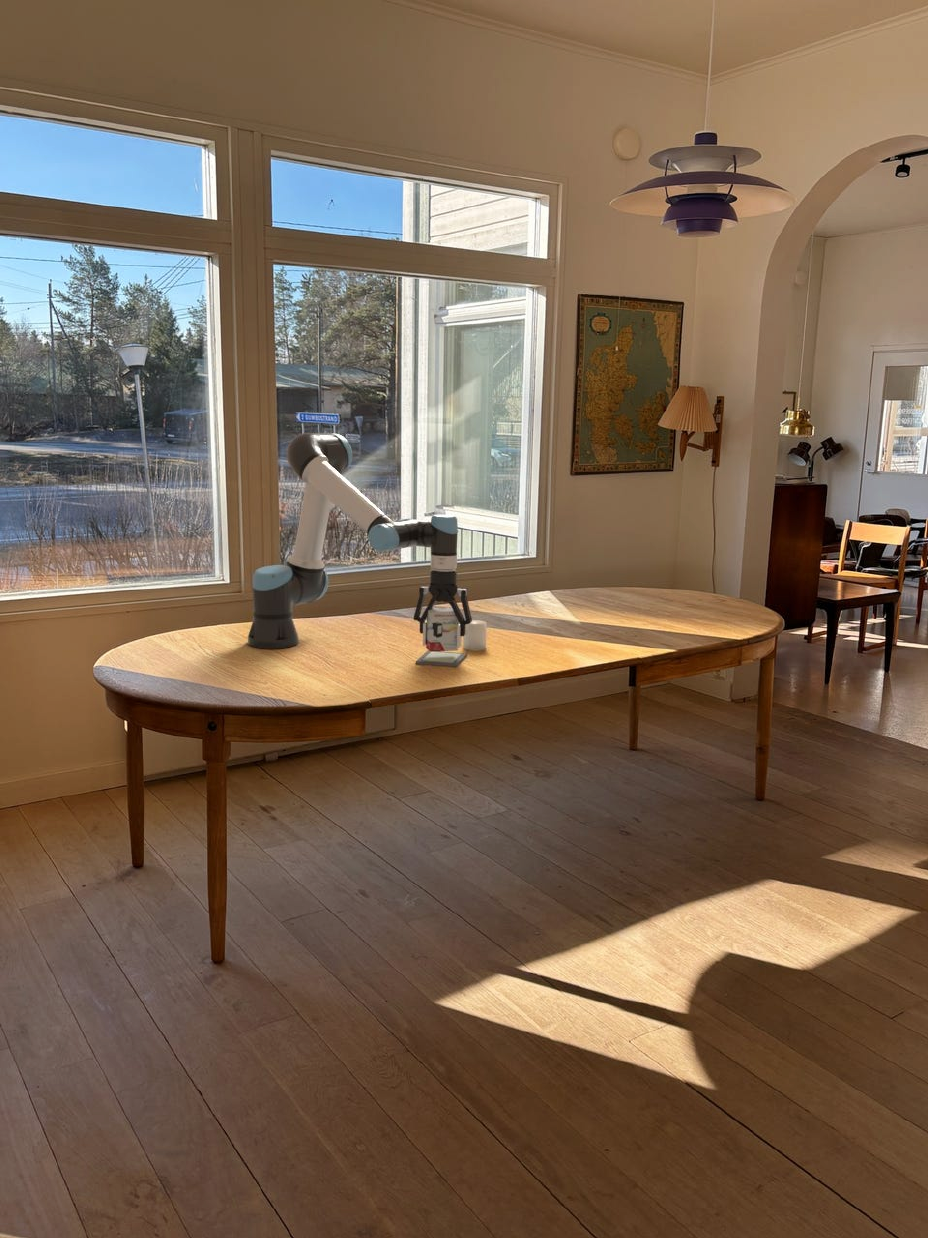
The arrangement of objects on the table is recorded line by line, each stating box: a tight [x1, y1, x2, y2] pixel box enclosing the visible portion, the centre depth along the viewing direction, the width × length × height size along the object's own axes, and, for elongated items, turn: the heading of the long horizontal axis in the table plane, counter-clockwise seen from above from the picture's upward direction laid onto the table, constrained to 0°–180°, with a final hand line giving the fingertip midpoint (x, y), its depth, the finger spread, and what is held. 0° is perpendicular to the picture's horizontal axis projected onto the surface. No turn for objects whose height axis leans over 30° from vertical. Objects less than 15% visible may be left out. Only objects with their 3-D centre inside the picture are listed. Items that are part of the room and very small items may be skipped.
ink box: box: [425, 607, 460, 652], centre depth 292 cm, size 9×5×12 cm, turn 105°
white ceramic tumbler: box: [462, 619, 488, 652], centre depth 309 cm, size 7×7×8 cm
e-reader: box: [415, 649, 468, 668], centre depth 293 cm, size 12×14×1 cm
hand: (442, 645), depth 293 cm, fingers closed on ink box, 9 cm apart
